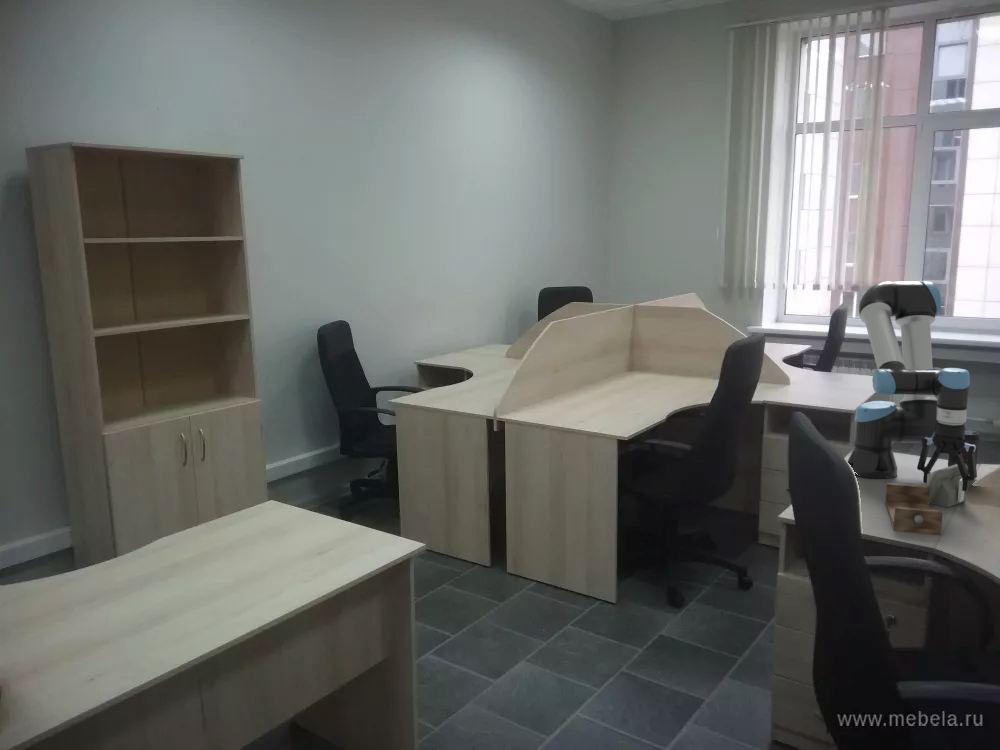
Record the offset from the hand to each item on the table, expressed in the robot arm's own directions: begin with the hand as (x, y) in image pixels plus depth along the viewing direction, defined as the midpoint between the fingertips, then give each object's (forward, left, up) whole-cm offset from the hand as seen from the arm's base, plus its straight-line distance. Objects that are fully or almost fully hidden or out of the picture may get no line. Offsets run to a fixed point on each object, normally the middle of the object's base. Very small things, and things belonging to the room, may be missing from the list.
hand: (944, 497), depth 225 cm
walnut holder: (+20, -2, -1) cm, 20 cm away
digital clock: (0, -1, -2) cm, 2 cm away
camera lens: (-28, -4, -2) cm, 28 cm away
